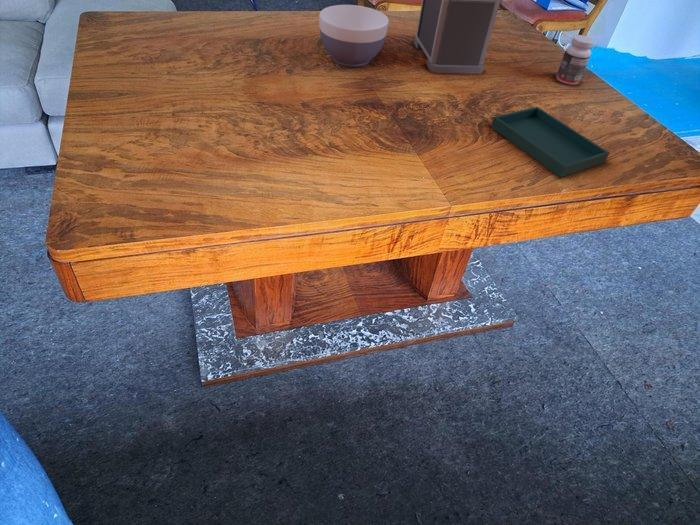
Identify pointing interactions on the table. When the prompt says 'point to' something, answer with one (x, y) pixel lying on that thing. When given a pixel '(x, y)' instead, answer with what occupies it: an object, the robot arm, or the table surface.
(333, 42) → the bowl
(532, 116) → the tray
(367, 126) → the table surface
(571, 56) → the pill bottle
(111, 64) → the table surface
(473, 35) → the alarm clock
